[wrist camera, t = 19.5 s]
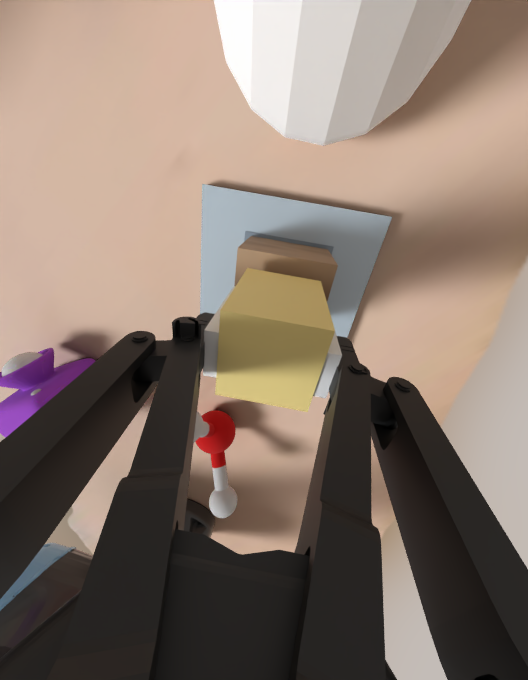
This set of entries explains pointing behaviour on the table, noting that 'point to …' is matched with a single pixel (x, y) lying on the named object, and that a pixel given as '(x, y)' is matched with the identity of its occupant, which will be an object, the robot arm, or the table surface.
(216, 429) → the molecular model
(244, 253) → the walnut block
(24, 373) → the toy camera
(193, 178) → the table surface
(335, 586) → the robot arm
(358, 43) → the white faceted vase
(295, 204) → the plate
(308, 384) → the mustard block
